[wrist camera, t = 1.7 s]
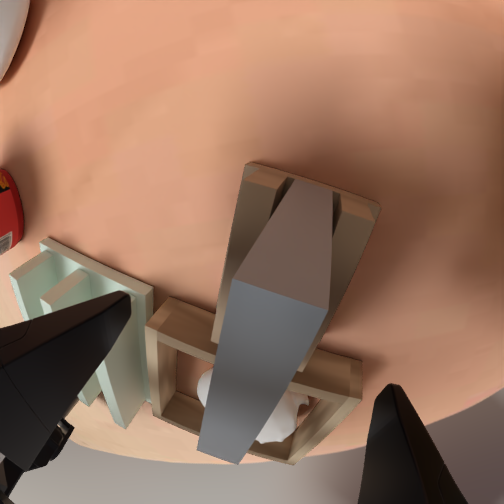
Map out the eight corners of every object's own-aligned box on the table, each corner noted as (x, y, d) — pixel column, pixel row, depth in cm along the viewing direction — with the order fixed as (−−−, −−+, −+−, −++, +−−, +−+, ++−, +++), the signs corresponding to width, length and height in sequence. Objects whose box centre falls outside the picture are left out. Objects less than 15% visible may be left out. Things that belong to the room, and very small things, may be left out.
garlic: (322, 407, 19) (316, 449, 16) (252, 419, 22) (240, 454, 19) (266, 339, 17) (250, 386, 14) (193, 362, 20) (171, 399, 17)
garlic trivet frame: (299, 437, 21) (293, 465, 19) (167, 391, 23) (153, 415, 20) (362, 361, 16) (362, 399, 13) (169, 296, 17) (144, 325, 15)
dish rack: (157, 397, 24) (133, 435, 20) (73, 349, 26) (47, 377, 21) (153, 287, 17) (106, 335, 13) (47, 237, 19) (3, 265, 15)
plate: (281, 331, 15) (238, 464, 8) (253, 321, 15) (196, 449, 8) (332, 190, 11) (327, 310, 4) (295, 178, 11) (233, 278, 5)
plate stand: (320, 333, 16) (314, 375, 13) (220, 300, 16) (198, 336, 14) (378, 202, 12) (391, 228, 9) (250, 162, 12) (225, 174, 10)
